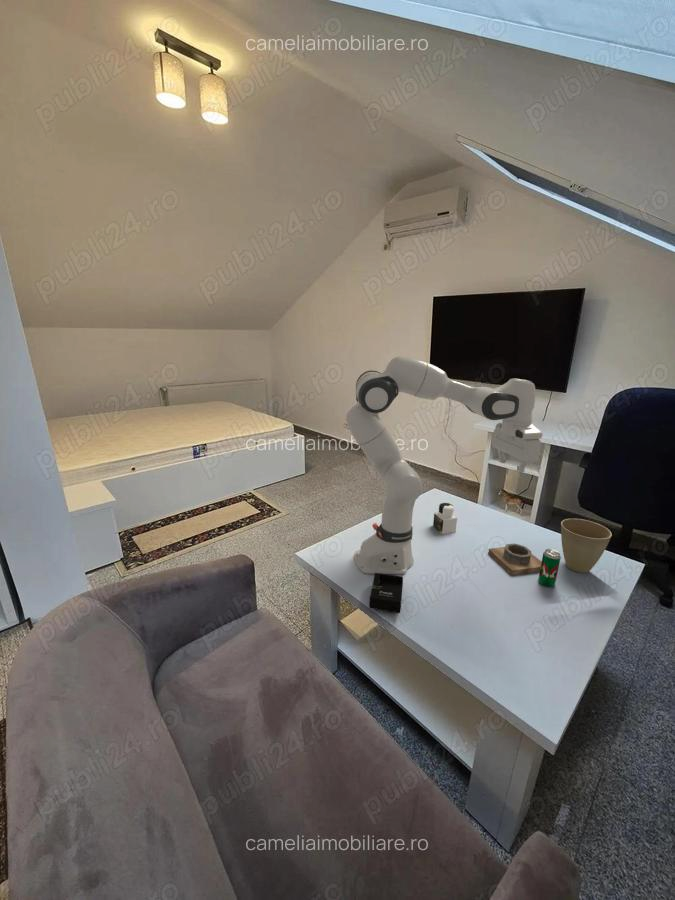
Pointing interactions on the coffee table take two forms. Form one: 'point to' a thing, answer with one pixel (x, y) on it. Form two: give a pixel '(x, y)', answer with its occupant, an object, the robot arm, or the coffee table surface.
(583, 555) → the plant pot
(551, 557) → the soda can
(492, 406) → the robot arm
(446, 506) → the white boxy device
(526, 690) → the coffee table surface
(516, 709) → the coffee table surface
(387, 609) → the battery charger
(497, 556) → the socket block
